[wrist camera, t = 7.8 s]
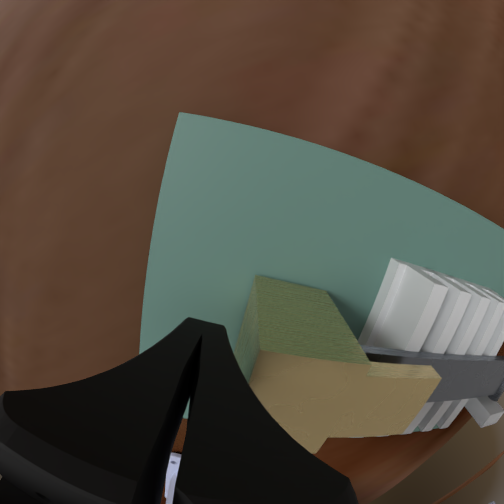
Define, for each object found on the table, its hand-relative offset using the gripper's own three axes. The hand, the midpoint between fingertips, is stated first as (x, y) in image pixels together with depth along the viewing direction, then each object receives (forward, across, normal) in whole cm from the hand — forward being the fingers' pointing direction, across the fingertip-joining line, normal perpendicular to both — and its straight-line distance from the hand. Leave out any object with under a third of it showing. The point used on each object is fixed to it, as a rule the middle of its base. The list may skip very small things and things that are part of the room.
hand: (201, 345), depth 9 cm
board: (+4, -9, 0) cm, 10 cm away
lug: (+3, -5, 0) cm, 5 cm away
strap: (0, -11, 0) cm, 11 cm away
